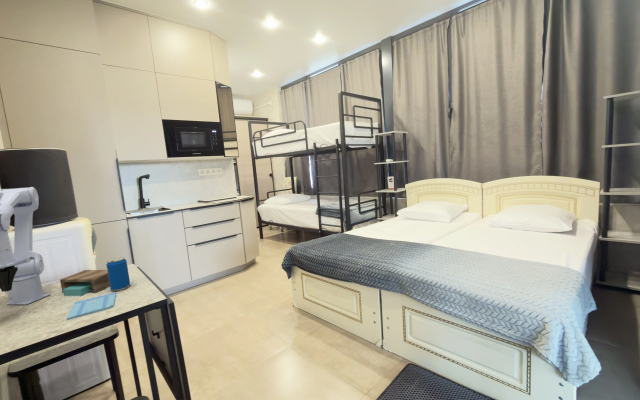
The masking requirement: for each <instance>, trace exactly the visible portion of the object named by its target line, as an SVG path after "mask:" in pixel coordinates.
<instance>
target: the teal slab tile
mask: <svg viewBox="0 0 640 400" xmlns="http://www.w3.org/2000/svg"><path fill="white" fill-rule="evenodd" d="M90 292H93V288H92V283H91V282H80V283H77V284H75V285H72V286H70V287H68V288H65V289H63V296H65V297H69V296H70V297H72V296H73V297H82V296H84V295H86V294H88V293H90Z"/></svg>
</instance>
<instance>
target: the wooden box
mask: <svg viewBox="0 0 640 400" xmlns="http://www.w3.org/2000/svg"><path fill="white" fill-rule="evenodd" d="M59 282H60V286H61V292H62V293H63V289H65V288H68V287H70V286H72V285H75V284H77V283H80V282H91V283H92V288H93V291H92V293H94V294H95V293H99V292H102V291H103V290H105V289H107V288H110V283H109V277H108V272H107V269H84V270H82V271H78V272H76V273H73V274H71V275H68V276H66V277H63V278H60V279H59ZM63 294H64V293H63Z"/></svg>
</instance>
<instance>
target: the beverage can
mask: <svg viewBox="0 0 640 400" xmlns="http://www.w3.org/2000/svg"><path fill="white" fill-rule="evenodd" d="M105 265H106V270H107V272H108V277H109V283H110V286H109V289H110V290H111V291H113V292H118V291H122V290H126V289H127V288H129V286H130V285H131V281H130V280H131V279H130V274H129V269H128V263H127V259H126V258H125V257H124V256H120V257H114V258H111V259H108V260H107V261H106V264H105Z"/></svg>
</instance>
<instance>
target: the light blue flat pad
mask: <svg viewBox="0 0 640 400" xmlns="http://www.w3.org/2000/svg"><path fill="white" fill-rule="evenodd" d="M116 297H117V291H114V292H112V293H111V292H110V293H108V294H103V295H100V296H95V297H92V298H87V299H83V300H80V301H75V302H74V303H73V305H72V307H71V309H70V311H69V313H68V315H67V317H66V321H70V320H74V319H77V318H80V317H84V316H89V315H92V314H96V313H99V312H103V311H105V310H109V309H112V308H114V307H115V302H116Z"/></svg>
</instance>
